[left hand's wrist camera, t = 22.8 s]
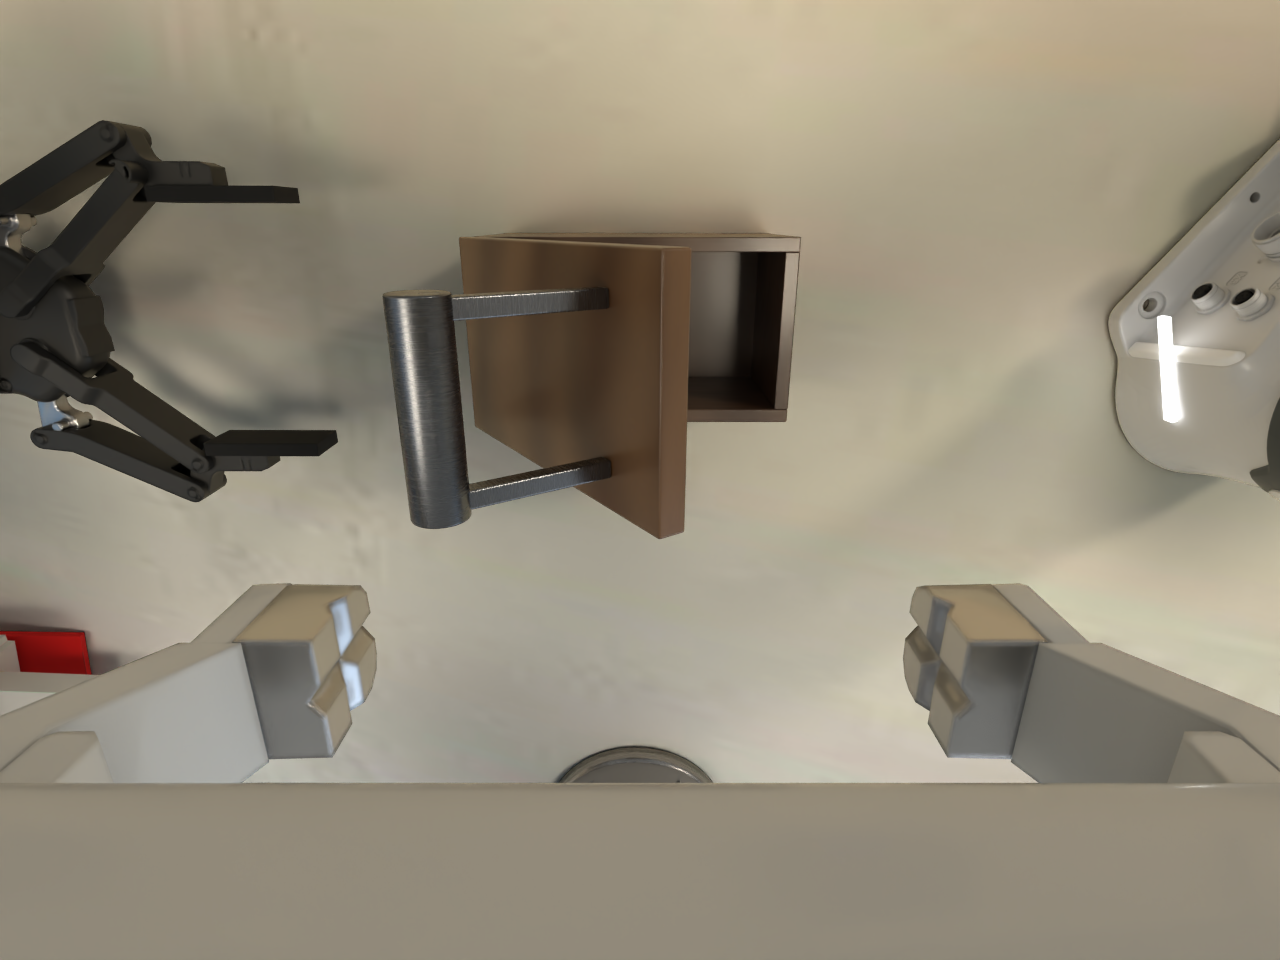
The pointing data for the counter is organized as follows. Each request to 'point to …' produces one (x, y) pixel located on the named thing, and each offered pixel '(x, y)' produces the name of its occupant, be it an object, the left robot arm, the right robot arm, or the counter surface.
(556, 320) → the lid
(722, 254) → the chest
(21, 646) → the toy
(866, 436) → the counter surface
